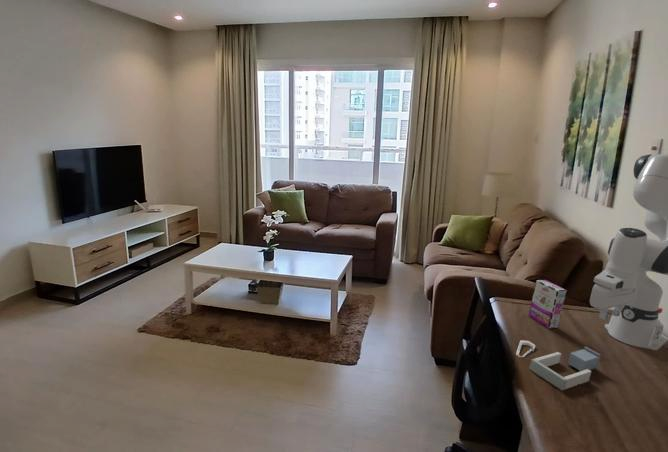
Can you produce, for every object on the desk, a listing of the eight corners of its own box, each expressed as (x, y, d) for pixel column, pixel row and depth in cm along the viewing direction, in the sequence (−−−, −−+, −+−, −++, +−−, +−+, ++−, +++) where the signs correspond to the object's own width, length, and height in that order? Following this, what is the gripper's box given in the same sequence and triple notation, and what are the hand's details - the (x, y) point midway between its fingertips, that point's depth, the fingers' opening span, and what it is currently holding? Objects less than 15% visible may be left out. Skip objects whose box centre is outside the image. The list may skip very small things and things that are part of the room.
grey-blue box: (582, 360, 138) (585, 346, 136) (596, 369, 133) (600, 354, 132) (567, 365, 134) (571, 350, 133) (581, 374, 130) (585, 359, 128)
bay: (555, 360, 136) (557, 351, 135) (588, 380, 126) (591, 371, 126) (529, 368, 130) (531, 359, 129) (561, 390, 121) (564, 380, 120)
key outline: (530, 363, 135) (531, 359, 135) (514, 358, 138) (515, 354, 137) (535, 345, 146) (536, 341, 145) (520, 341, 148) (521, 336, 148)
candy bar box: (558, 328, 160) (567, 290, 156) (548, 329, 158) (557, 290, 154) (537, 315, 170) (545, 279, 166) (527, 315, 169) (535, 279, 164)
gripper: (627, 271, 137) (617, 308, 140) (591, 277, 128) (580, 317, 131) (648, 278, 131) (636, 316, 135) (611, 285, 122) (600, 326, 126)
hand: (609, 317), depth 133 cm, fingers open, 5 cm apart
